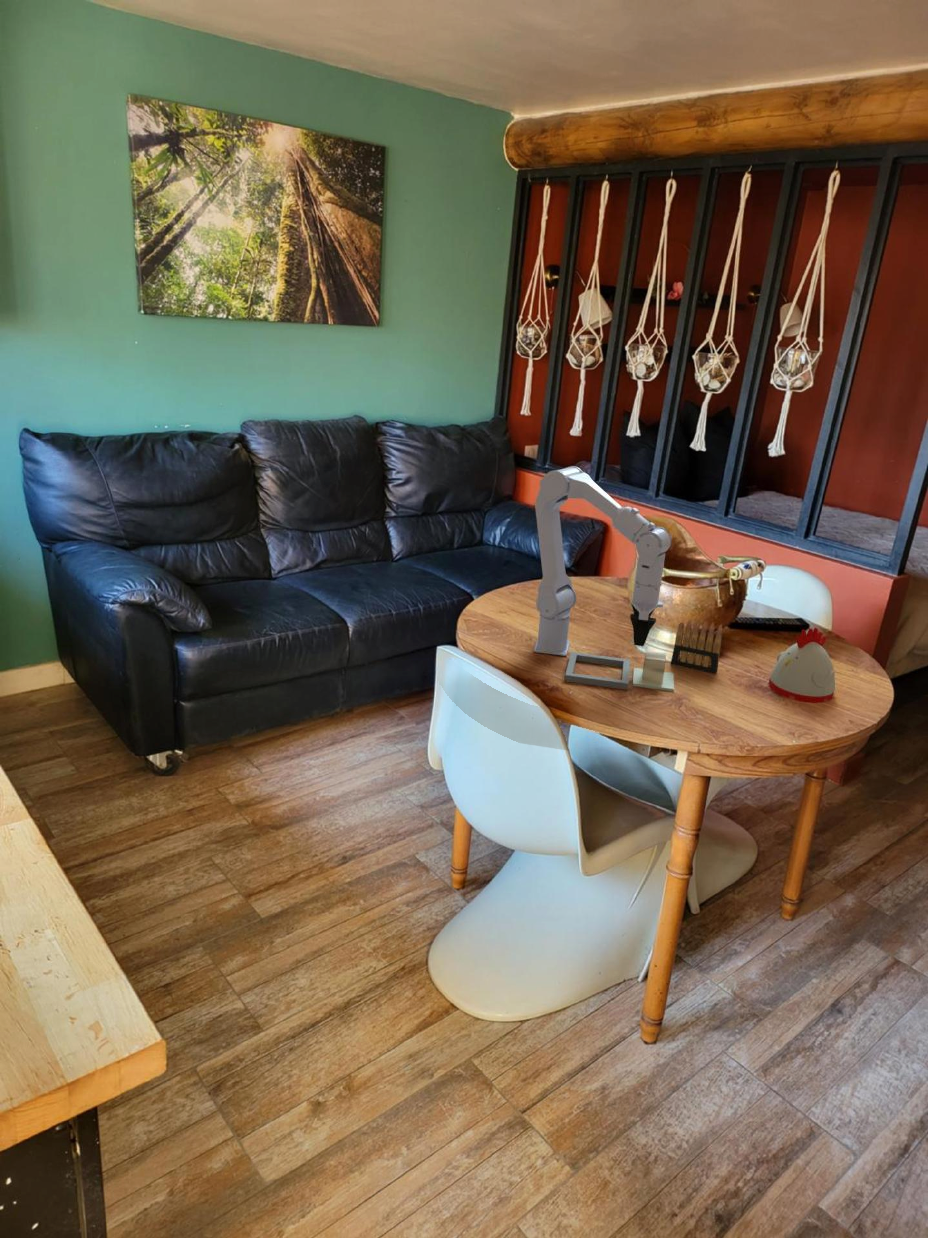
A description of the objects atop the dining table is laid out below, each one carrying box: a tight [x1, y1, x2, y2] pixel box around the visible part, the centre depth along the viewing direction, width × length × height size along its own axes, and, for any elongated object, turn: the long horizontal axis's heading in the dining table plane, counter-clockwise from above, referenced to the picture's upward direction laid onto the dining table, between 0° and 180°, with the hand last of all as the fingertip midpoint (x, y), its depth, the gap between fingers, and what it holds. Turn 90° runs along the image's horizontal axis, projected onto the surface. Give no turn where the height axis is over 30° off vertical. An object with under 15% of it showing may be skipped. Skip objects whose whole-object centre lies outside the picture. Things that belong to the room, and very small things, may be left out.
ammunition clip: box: [670, 619, 723, 674], centre depth 195 cm, size 11×2×12 cm, turn 65°
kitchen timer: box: [768, 627, 836, 704], centre depth 186 cm, size 14×14×15 cm
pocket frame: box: [564, 651, 631, 691], centre depth 191 cm, size 14×14×2 cm
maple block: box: [642, 650, 667, 683], centre depth 188 cm, size 4×4×6 cm
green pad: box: [632, 667, 675, 692], centre depth 189 cm, size 9×9×1 cm
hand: (639, 639), depth 189 cm, fingers open, 7 cm apart
